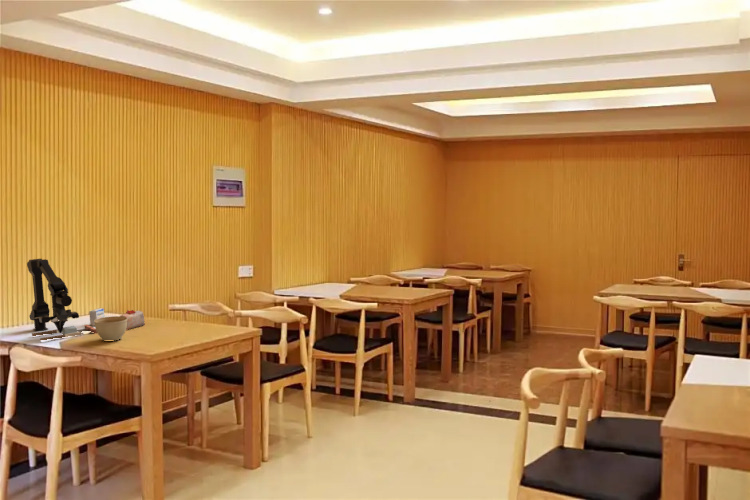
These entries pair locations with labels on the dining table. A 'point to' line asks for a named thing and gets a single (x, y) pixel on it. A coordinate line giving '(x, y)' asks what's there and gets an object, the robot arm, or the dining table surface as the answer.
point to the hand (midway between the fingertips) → (60, 333)
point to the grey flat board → (87, 328)
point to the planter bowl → (111, 327)
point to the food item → (134, 319)
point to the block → (69, 330)
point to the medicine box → (96, 315)
